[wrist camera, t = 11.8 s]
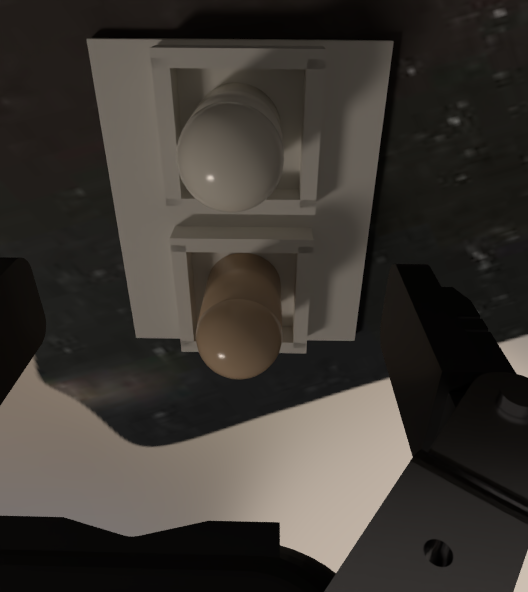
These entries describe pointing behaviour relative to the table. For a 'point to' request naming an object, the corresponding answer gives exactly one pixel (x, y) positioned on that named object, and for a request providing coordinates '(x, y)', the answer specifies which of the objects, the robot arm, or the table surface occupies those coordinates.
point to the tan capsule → (240, 317)
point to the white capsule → (232, 148)
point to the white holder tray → (270, 213)
